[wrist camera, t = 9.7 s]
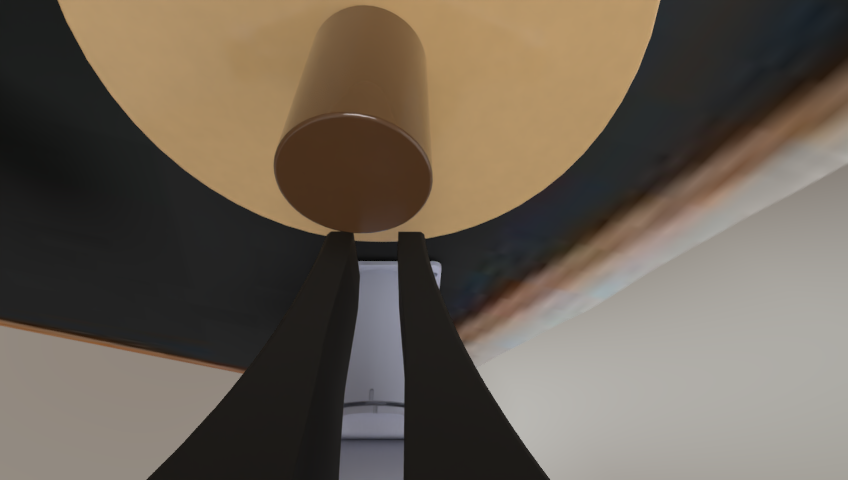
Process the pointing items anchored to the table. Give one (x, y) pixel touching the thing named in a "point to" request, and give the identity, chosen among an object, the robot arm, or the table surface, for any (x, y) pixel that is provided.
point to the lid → (368, 99)
